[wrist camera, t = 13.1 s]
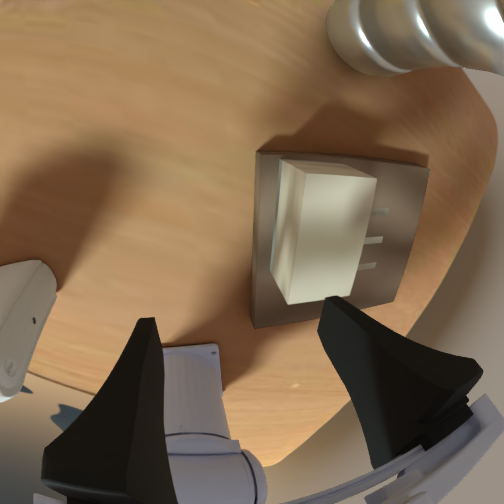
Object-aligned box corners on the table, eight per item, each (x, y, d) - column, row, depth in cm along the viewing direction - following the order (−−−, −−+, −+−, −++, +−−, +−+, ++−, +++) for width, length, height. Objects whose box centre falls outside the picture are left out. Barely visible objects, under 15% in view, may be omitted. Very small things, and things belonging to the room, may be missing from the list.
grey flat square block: (385, 293, 27) (393, 301, 26) (250, 317, 24) (254, 328, 23) (418, 164, 20) (429, 169, 19) (255, 151, 17) (262, 154, 16)
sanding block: (324, 265, 21) (349, 295, 18) (269, 270, 20) (287, 304, 17) (342, 163, 17) (377, 178, 14) (279, 159, 16) (306, 173, 13)
